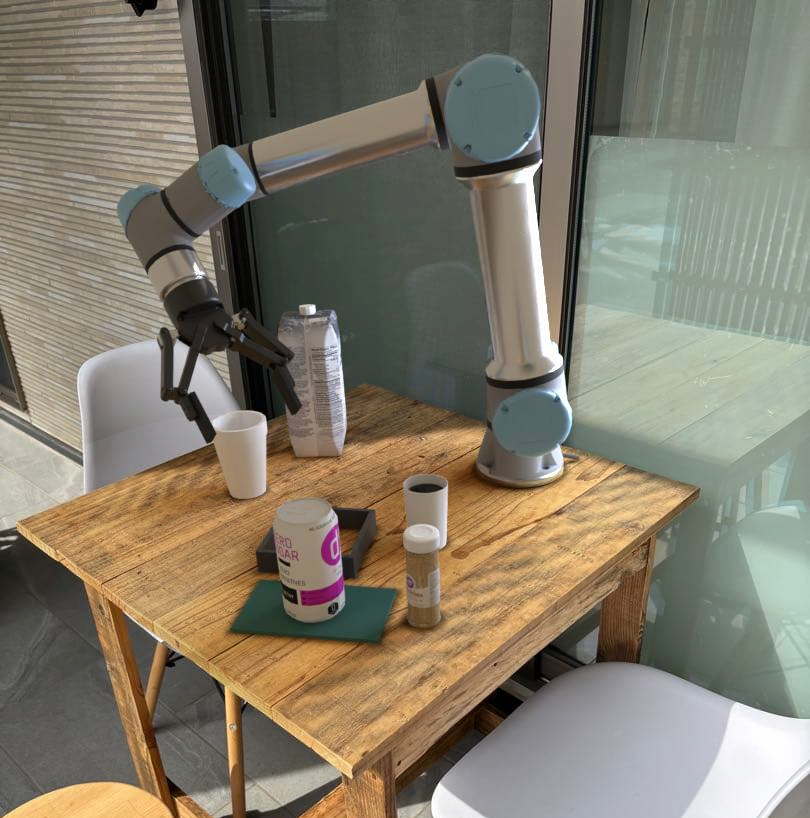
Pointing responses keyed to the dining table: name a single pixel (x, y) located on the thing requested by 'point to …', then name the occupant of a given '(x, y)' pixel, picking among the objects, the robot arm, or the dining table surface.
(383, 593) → the mat
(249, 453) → the foam cup
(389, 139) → the robot arm
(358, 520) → the square frame
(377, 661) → the dining table surface
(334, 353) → the juice carton
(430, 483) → the white coffee cup
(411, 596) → the sprinkles bottle
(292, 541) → the supplement can
